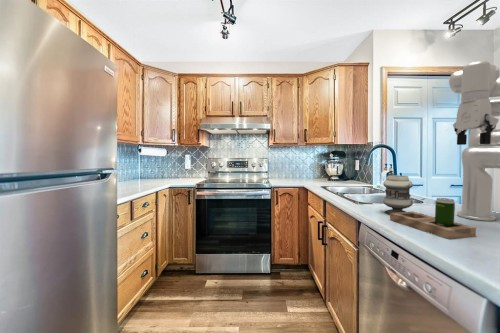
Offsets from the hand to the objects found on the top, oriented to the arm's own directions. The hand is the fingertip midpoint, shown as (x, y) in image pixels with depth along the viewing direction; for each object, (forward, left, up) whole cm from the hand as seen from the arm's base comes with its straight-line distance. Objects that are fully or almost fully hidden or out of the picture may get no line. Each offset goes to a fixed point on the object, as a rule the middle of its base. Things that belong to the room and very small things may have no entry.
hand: (472, 144), depth 90 cm
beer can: (+10, -9, -32) cm, 35 cm away
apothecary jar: (-13, -23, -32) cm, 41 cm away
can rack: (+6, -13, -32) cm, 35 cm away
